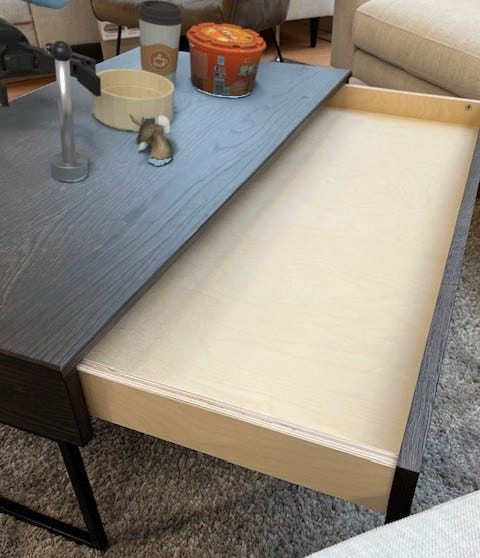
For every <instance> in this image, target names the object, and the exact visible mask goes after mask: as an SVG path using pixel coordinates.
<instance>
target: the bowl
mask: <svg viewBox="0 0 480 558" xmlns="http://www.w3.org/2000/svg"><path fill="white" fill-rule="evenodd" d="M96 75H97V76H99V77H100V83H101V96H97V97H96V96H95V95H94V94H93V93H91V92H90V94H91V113H92V115H93V116H94V117H95V118H96V119H97V120H98V121H100V122H101V123H102V124H104V125H106V126H108V127H111V128H113V129H117V130H122V131H126V130H139V128H140V127H139V126H138V125H136V124H135V123H134V122H133V121H132V120H131V118H130V117H129V115H132V116H133V117H134V119H136V120H137V121H138V122H140V123H141V119H142V117H144V118H145V119H146V118H148V119H150V118H153V117H154V119H155V125H156V124H157V119H158V116H159V115H163V116H165V117H167V119H168V120H169V123H170V124H171V122H172V121H173V119H174V111H175V91H176V89H175V84H173V83H172V82H171V81H170V80H169V79H167V78H165V77H163V76H161V75H158V74H155V73H152V72H148V71H143V70H142V69H135V68H113V69H112V68H111V69H106V70H102V71H99V72H96Z"/></svg>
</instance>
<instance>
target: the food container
mask: <svg viewBox="0 0 480 558" xmlns="http://www.w3.org/2000/svg"><path fill="white" fill-rule="evenodd" d="M186 39H187V41H188V42H189V43H188V45H189V47H188V48H189V62H190V63H189V64H190V66H189V67H190V81H191V85H192V87H194V88H195V87H196V88H198V89H200V90H202V91H205V92H208V93H211V94H215V95H222V96H242V95H246V94H248V93H250V92H251V91H252V92H253V90H254V86H255V81H256V78H257V75H258V70H259V67H260V63H261V58H262V54H263V52H264V51H265V50H266V48H267V43H266V41H265V40H264V38H263V37H261V36H260V34H259V32H256V31H254V30H252V29H250V28H243V27H242V26H240V25H236V24H230V23H222V24H220V23H219V24H217V23H214V22H202V23H201V22H200V23H198V24H197V25H193V26H191V28H189V30H187V31H186ZM196 88H195V89H196Z"/></svg>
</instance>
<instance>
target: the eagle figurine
mask: <svg viewBox="0 0 480 558" xmlns="http://www.w3.org/2000/svg"><path fill="white" fill-rule="evenodd" d="M129 117H130V118H131V120H132V121H133V122H134V123H135V124H136V125H138V126H139V127H140V128H139V130H138V131H137V135H136V138H135V140H136V145H139V144H140V145H139V147H138V150H139V149H144V150H146V148H147V147H148V146H149V145H150V146H151V149H150V154H149V156H148V158H150V159H156V160H164V159H169V158H172V157H174V152H173V145H172V142H171V141H170V140H169V138H167V137H166V135H165V134H169V133H170V131H171V122H170V123H169V120H168V119H167V117H165V116H163V115H159V116H158V119H157V124H156V125H155V119H154V117H153V118H150V119H148V118H146V119H145V118H144V117H142V119H141V123H140V122H138V121H137V120H136V119H134V117H133V116H132V115H129ZM172 159H173V158H172Z"/></svg>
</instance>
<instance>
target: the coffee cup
mask: <svg viewBox="0 0 480 558" xmlns="http://www.w3.org/2000/svg"><path fill="white" fill-rule="evenodd" d="M137 18H138V23H139V49H140V50H139V51H140V65H141V70H143V71H148V72H152V73H155V74H158V75H161V76H163V77H165V78H167V79H169V80H170V81H171V82H172V83H173V84H174V85H175V84H176V76H177V75H176V74H177V68H178V60H179V52H180V38H181V31H182V30H181V29H182V23H183V14H182V12H181V6H179V5H178V4H175V3H174V2H170V1H165V0H143V1H141V2H140V7H139V8H138V14H137Z"/></svg>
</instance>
